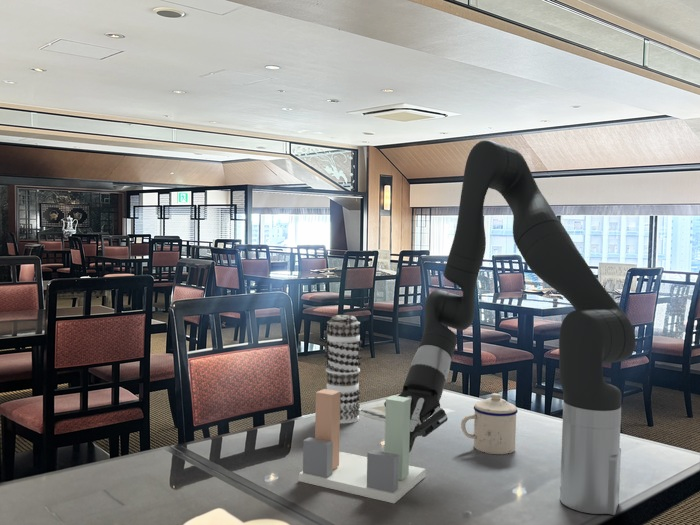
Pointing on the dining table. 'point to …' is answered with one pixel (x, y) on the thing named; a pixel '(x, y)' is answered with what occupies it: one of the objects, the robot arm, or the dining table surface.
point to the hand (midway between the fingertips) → (401, 452)
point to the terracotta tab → (328, 420)
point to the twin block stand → (357, 472)
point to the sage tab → (398, 431)
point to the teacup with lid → (493, 425)
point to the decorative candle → (344, 364)
